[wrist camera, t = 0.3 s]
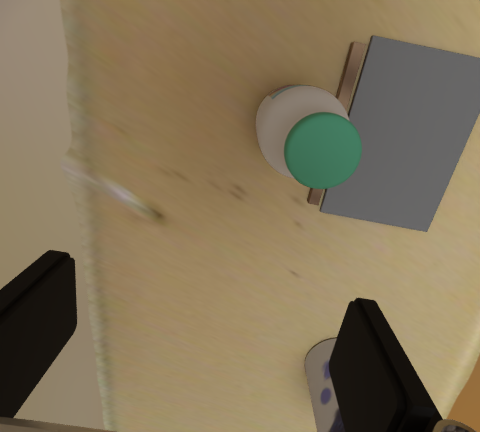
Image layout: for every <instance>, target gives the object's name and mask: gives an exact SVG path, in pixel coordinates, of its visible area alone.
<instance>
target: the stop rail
mask: <svg viewBox="0 0 480 432" xmlns="http://www.w3.org/2000/svg"><path fill="white" fill-rule="evenodd" d="M365 45H366V44H363V43H358V42H353V43H351V46H350V49H349V53H348V56H347V60H346V63H345V67H344V71H343V74H342V78H341V81H340V85H339V88H338V92H337V96H336V98H337V99H338V100H339V101H340V102H341V104H342V105H343V107H344V108H345V110H346V109H347V106H348V103H349V99H350V96H351V92H352V89H353V86H354V82H355V79H356V75H357V72H358V69H359V65H360V62H361V58H362V55H363V52H364V48H365ZM322 191H323V189H315V188H311V189H310V192H309V196H308V199H307V201H308V203H309V204H314V205H319V201H320V198H321V194H322Z"/></svg>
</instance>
